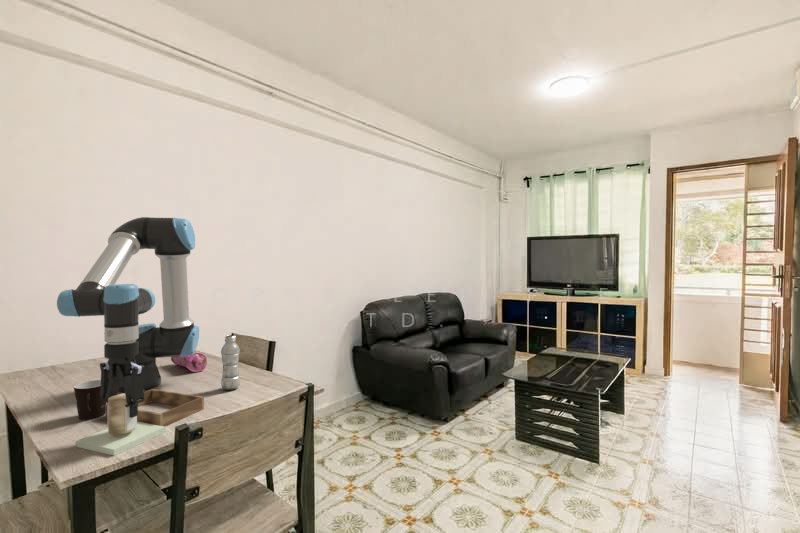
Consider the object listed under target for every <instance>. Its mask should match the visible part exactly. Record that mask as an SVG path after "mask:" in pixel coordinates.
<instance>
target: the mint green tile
mask: <svg viewBox="0 0 800 533" xmlns="http://www.w3.org/2000/svg"><path fill="white" fill-rule="evenodd" d="M165 432H166V426H165V427H164V426H158V425H153V424H148V423H143V422H137V427H136V428H135V429H134V430H133V431H130V432H128V433H125V434H120V435H110V434H109V433H108V427H107V428H105V429H103V430H100V431H97V432H95V433H92V434H90V435H87V436H84V437H82V438H80V439H77V440H75V447H76V448H80V449H85V450H89V451H93V452H97V453H101V454H105V455H110V456H117V455H119V454H121V453H122V452H125V451H128V450H129V449H132V448H135V447H136V446H138V445H140V444H142V443H144V442H147V441H149V440H151V439H153V438H155V437H157V436H160V435H162V434H164V433H165Z"/></svg>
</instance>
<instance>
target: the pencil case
mask: <svg viewBox="0 0 800 533" xmlns="http://www.w3.org/2000/svg"><path fill="white" fill-rule="evenodd" d="M170 360H171V362H172V363H173V364H174V365H176V366H179V367H183V368H187V369H188V370H189V371H190V372H193V373H198V372H201V371H204V370H205V369H206V367H207V364H208V359H207V356H206V354H204V353H203V352H199V351H195V352H194V353H193V354H192V355H190V356H182V357H170Z"/></svg>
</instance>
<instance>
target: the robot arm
mask: <svg viewBox="0 0 800 533" xmlns="http://www.w3.org/2000/svg"><path fill="white" fill-rule="evenodd" d="M195 248H196V236H195V230H194V227H193V225H192V223H191V222H190V220H188V219H186V218H180V217H149V216H146V217H145V216H143V217H137V218H133V219H131V220H128V221H127V222H124V223H123V224H121V225H120V226H118V227H117V228H115V230H113V231H112V233H111V234H110V235H109V237H108V239H107V246H106V247H105V248H104V250H103V251H102V253H101V254H100V256H99V257H98V258H97V260H96V261H95V263H94V264H93V265H92V267H91V268H90V270H89V271H88V273H87V274H86V275H85V277H84V278H83V280H82V281H81V282H80V284H79V285H78V286H77V288H76V289H73V288H71V289H65V290H63V291H61V292H59V294H58V296H57V299H56V307H57V310H58V313H59V314H60V315H62V316H65V317H79V318H80V317H95V316H96V317H99V316H103V319H104V321H103V322H104V326H103V327H104V338H103V339H104V342H105V344H104V348H103V352H104V353H103V354H104V355H103V356H104V358H105V359H108V360H107V361H104V362H101V363H99V368H100V380H101V390H100V398H101V399H105V402H107V403H106V405H107V418H106V419H107V421H108V398H110V397H112V396H114V395H118V394H119V393H125V395H126V400H127V405H125V431H128V430H131V429H133V428H135V427H137V415H138V409H139V407H138V403H140V402H143V401H144V392H145V391H146V390H150V389H153V388H156V387H157V386H159V385H160V384H161V383H162V376H161V373H160V370H159V368H158V365H157V359H158V358H171V357H182V356H190V355H192V354H193V353H194V352H196V350H197V347H198V343H199V338H200V327H199V326H198V325H195V324H194V322H195V321H194V320H193V319H192V318H190V308H189V290H188V288H189V287H188V268H187V267H188V266H187V265H188V264H187V258H188V256H190V255H191V251H192V250H194V249H195ZM145 249H146V250H154V255H155V256H156V257H158V258H159V263H160V266H159V267H160V281H161V296H162V312H163V320H162V321H161V322H160V323H159V326H158V327H157V324H156V323H155V322H154V323H152V322H151V323H142V324H139V315H144V314H145V313H147V312H149V311H150V310H152V309H153V307H154V306H155V303H156V297H155V294H154V293H153V292H152V291H151V290H150V289H147V288H142V287H138V285H136V284H133V283H121V284H120V283H117V281H118V279H119V278H120V276H121V274H122V273H123V272H124V270H125V268H126V267H127V265H128V263H129V261H130V260H131V258H132V256H134V255H136V254H138V252H140V250H145ZM105 393H106V394H105Z"/></svg>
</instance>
